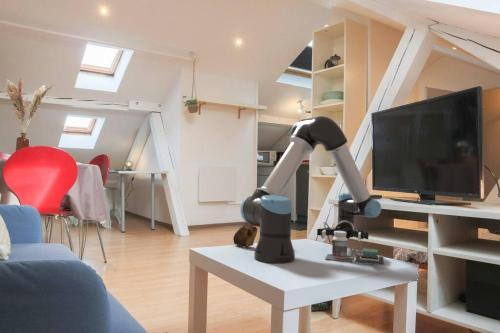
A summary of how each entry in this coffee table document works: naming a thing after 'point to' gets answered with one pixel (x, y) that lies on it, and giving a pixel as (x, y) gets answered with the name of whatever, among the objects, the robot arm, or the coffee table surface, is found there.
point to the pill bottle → (339, 245)
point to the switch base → (369, 260)
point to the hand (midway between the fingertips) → (340, 236)
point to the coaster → (348, 259)
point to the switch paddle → (369, 253)
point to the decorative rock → (245, 235)
